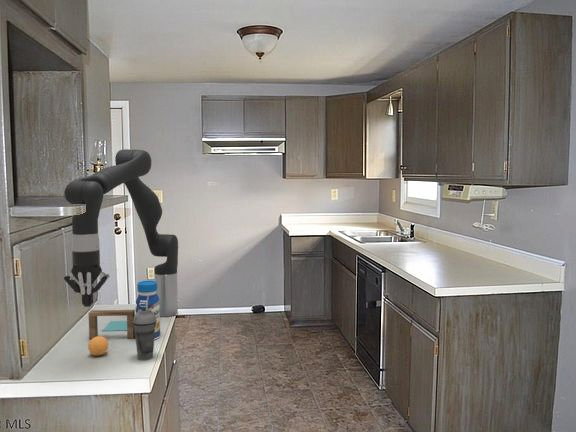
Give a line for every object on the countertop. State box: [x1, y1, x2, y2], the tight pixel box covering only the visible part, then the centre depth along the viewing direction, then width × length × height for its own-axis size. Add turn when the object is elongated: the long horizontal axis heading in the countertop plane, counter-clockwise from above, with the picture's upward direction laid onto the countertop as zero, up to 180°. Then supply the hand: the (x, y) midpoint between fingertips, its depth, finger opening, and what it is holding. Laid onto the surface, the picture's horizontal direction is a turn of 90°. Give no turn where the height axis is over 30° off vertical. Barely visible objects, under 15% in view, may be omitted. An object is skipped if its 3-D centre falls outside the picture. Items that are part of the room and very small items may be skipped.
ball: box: [87, 335, 109, 357], centre depth 154 cm, size 6×6×6 cm
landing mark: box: [101, 320, 127, 332], centre depth 184 cm, size 12×12×1 cm
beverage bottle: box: [134, 280, 161, 341], centre depth 170 cm, size 8×8×20 cm
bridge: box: [88, 309, 136, 341], centre depth 170 cm, size 3×15×10 cm, turn 95°
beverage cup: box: [133, 295, 157, 361], centre depth 151 cm, size 7×7×20 cm
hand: (87, 306), depth 144 cm, fingers closed
